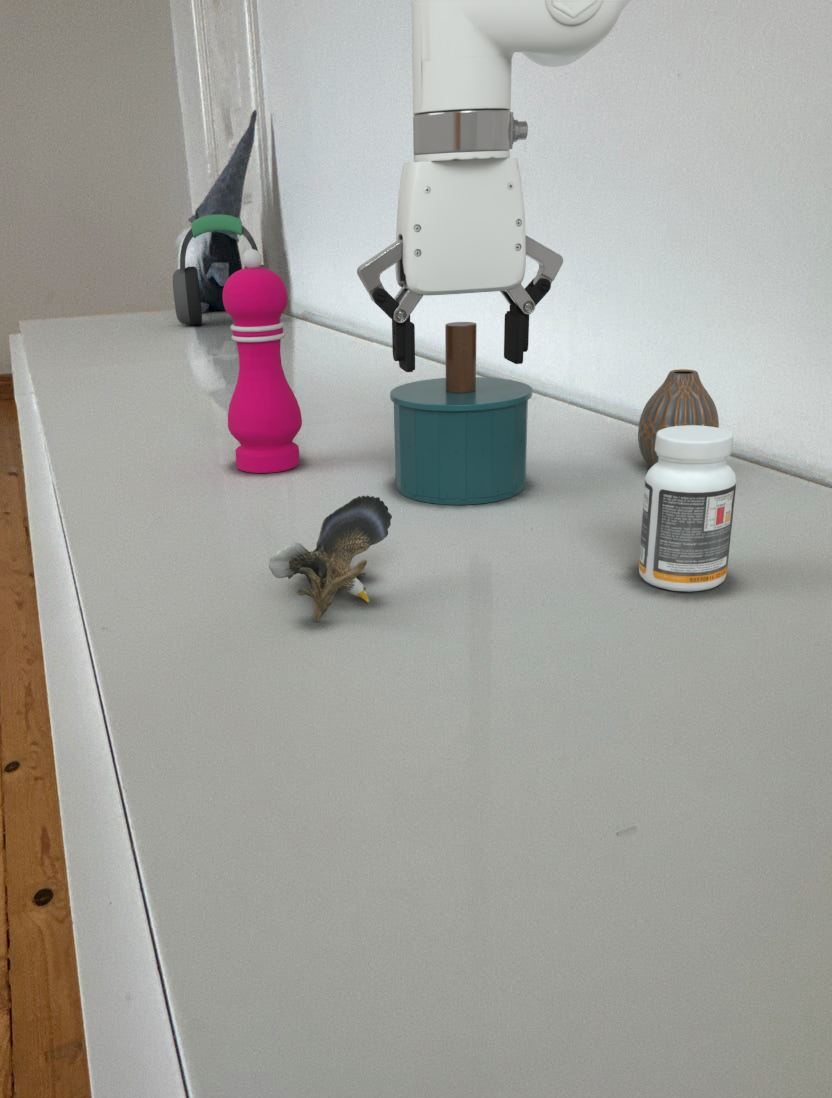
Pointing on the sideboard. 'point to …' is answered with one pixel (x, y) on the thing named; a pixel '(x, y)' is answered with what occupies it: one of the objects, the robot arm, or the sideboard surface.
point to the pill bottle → (688, 509)
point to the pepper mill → (260, 371)
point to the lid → (461, 380)
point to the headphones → (188, 277)
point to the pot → (460, 454)
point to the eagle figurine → (336, 552)
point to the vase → (675, 409)
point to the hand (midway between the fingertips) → (460, 365)
